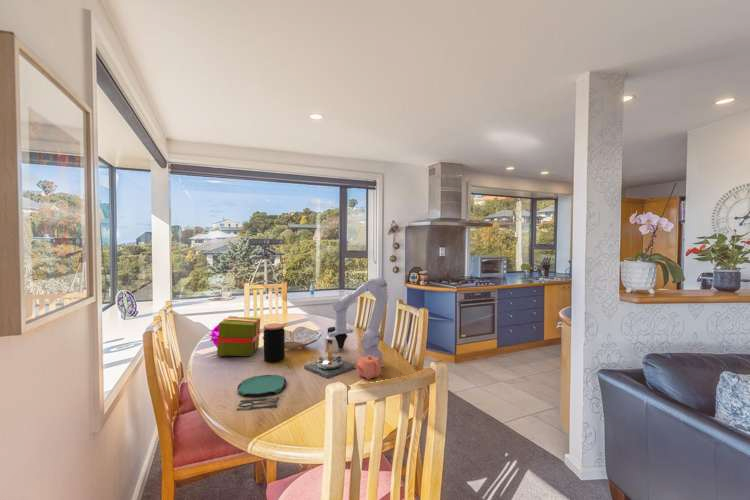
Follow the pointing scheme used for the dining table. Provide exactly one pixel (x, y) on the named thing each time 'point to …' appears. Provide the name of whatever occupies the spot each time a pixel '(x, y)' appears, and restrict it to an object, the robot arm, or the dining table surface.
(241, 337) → the gift box
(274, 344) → the coffee jar
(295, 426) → the dining table surface
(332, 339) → the container
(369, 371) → the pumpkin
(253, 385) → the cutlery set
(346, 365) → the base plate
